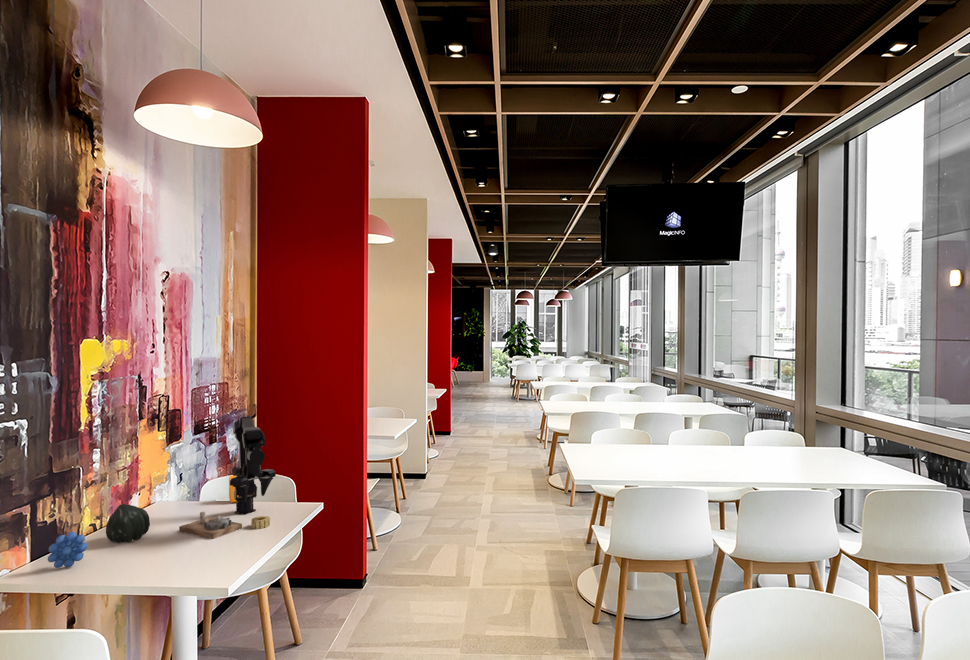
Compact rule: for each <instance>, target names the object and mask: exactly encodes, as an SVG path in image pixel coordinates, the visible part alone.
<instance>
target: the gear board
mask: <svg viewBox="0 0 970 660" xmlns="http://www.w3.org/2000/svg"><path fill="white" fill-rule="evenodd" d="M239 529H240V530H242V529H243V523H241V522H235V521H232V519H230V517H227V518H222V517H221V515H216V516H214V517H210V516H209V517H208V516H207V517H206V511H200V512H199V520H195V521H192V522H190V523H186V524H183V525H180V526H179V529H178V530H179V532H181V533H185V534H189V535H194V536H198V537H203V538H207V539H212V540H213V539H217V538H220V537H223V536H224V535H229V534H231V533H233V532H236V530H237V531H240V530H239Z"/></svg>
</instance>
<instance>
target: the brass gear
mask: <svg viewBox="0 0 970 660" xmlns="http://www.w3.org/2000/svg"><path fill="white" fill-rule="evenodd" d="M250 521H251V522H250V523H251V524H250V525H251V529H253V530H255V529H256V530H260V529H265V528H268V527H270V526H271V517H270V516H269V515H262V516H261V515H260V516H256V517H253V518H252V519H251V520H250Z"/></svg>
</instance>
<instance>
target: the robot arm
mask: <svg viewBox="0 0 970 660" xmlns="http://www.w3.org/2000/svg"><path fill="white" fill-rule="evenodd" d="M238 418H239V419H238V420H236V421H235V422H233V426H232V433H233V435H234V438H235V440H236V441H237V442H238V453H239V455H238V459H239V466H236V467H232V468H231V469H232V470H231V473H232V474H231V475H232V476H236V477H235V478H232V479H231V480H230V485H231V486H233V487H235V491H234V499H235V500H237V502H235V506H236V509H235V510H236V511H234V514H238V515H239V514H240V515H246V514H250V513H253V512H256V511H257V509H256V508H254V498H255V499H256V498H257V496H258V494H257V492H258V486H257V485H256V483H255V480H258V481H259V482H260V494H261V496H262V497H265V495H266V492H267V490H268V488H269V486H270V484H271V482H272V480H274V477H276V474H277V473H276V471H275V469H272V468H271V469H270V468H269V469H268V468H265V469H262V467H261V466H262V465H263V464H264V461H265V458H266V455H265V452H263V450H262V448H263V447H265V446H266V438H265V433H264V432H263V431H262V430H261V428H260V427H257V426H255V420H253V416H251V415H247V416H246V415H245V416H241V417H240V416H239V417H238Z"/></svg>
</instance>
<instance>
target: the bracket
mask: <svg viewBox="0 0 970 660" xmlns="http://www.w3.org/2000/svg"><path fill="white" fill-rule="evenodd" d="M235 477H236V476H233V475H229V477H228V479H229V480H228V486H229V487H228V496H229V497H228V499H229V502H230V504H233V503H237V500H235V499H234V491H235V487H233V486H231V485H230V480H231V479H232V478H235Z"/></svg>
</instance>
